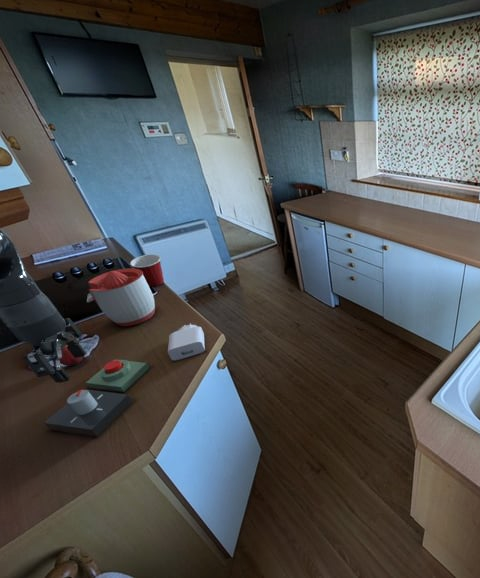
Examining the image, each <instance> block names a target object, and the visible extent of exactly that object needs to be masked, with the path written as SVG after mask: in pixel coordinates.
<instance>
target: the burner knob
mask: <svg viewBox="0 0 480 578" xmlns="http://www.w3.org/2000/svg"><path fill="white" fill-rule="evenodd" d="M88 390H89V389H86V390H84V389H81V388H80V389H79V390H78V391H76V392H74V393H71V394H70V395H69V397H68V398H67V399H66V404H67V403H68V404H69V405H70V406H71V407H72V408H73V410H74V411H75V412H76V413H77V414H78V415H84V414H87V413H89V412H91V411H92V410H94V409H95V408H96V406H97V404H98V403H97V401H96V400H95V399H94V398H93V396H92V395H91V394H90V393H89V391H88Z"/></svg>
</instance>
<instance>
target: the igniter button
mask: <svg viewBox="0 0 480 578" xmlns="http://www.w3.org/2000/svg"><path fill="white" fill-rule="evenodd" d="M118 360H119V359H115V361H113V360H111V361H109V362H107V363H106V364H105V365H104V366H103V368H104V369H105V371H106V372H107V373H108V374H111V373H115V372H117V371H119V370H120V369H121V368H122V367H123V366H122V364H121V362H120V361H118Z"/></svg>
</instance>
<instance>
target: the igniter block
mask: <svg viewBox="0 0 480 578" xmlns="http://www.w3.org/2000/svg"><path fill="white" fill-rule="evenodd" d="M115 360H116V359H115V358H114V359H113V360H112V361H115ZM117 360H118V361H120V362H121V364H122V366H123V367H122V368H121V369H120V370H119V371H117V372H115V373H111V374H108V373H107V372H106V371H105V369H104V367H103V368H101V369H100V370H99V371H98V372H96V373H95V374H94V375H92V377H90V378H89V379H88V380H87V381H85V384H86V386H87V387H88V388H89V389H96V390H104V391H110V392H111V391H113V392H121V393H125V392H127V390H128V389H129V388H130V387H131V386H132V385H133V384H135V382H137V381H138V380H139V379H140V378H141V377H142V376H143V375H144V374H145V373H146V372H147V371H148V370H149V369H150V366H149V365H148V362H143V361H132V360H127V359H117Z"/></svg>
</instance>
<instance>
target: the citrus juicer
mask: <svg viewBox="0 0 480 578" xmlns="http://www.w3.org/2000/svg"><path fill="white" fill-rule="evenodd" d="M87 283H88V285H89V287H90V288H89V289H88V291H89V292H88V294H87V295H86V296H87V299H86V303H91V302H93V301H94V302H95V303H96V304H97V305H98V307H99V308H100V310H101V311H102V312H103V314H104V315H105V316H106V317H107V318H109V319H110V320H111V321H112V322H113V323H114V324H117V325H118V326H121V327H131V326H135V325H139V324H141V323H144V322H145V321H147V320H149V319H151V318H152V317H153V316H154V314H155V311H156V303H155V297H154V295H153V292H152V290H151V288H150V286H149V285H148V284H147V282H146V280H145V278H144V276H143V272H142V271H141V270H140V269H135V268H134V267H129V268H128V267H127V268H121V269H115V270H110V271H108V272H105V273H102V274H100V275H97V276H95V277H93V278H91V279H90V280H89V281H88V282H87Z"/></svg>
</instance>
